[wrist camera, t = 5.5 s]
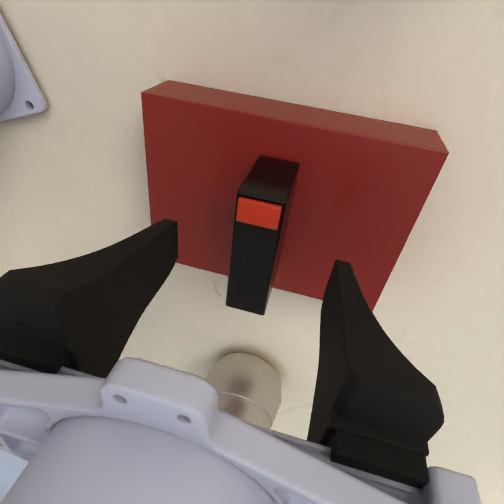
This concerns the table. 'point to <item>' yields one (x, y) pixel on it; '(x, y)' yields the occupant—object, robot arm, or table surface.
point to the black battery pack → (259, 232)
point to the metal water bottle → (247, 388)
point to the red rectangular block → (307, 186)
